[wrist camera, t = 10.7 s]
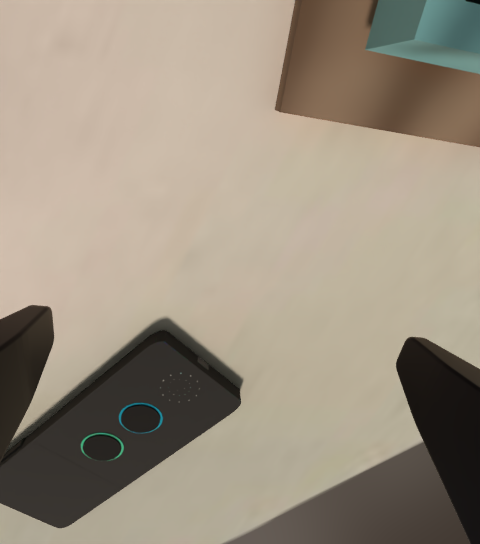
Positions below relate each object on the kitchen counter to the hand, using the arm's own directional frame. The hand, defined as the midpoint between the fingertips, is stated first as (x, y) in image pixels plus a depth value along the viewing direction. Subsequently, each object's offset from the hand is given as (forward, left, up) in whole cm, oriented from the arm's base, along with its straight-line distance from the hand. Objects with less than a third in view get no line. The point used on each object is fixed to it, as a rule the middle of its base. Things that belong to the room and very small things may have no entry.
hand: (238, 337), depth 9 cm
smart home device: (-6, -19, -13) cm, 23 cm away
